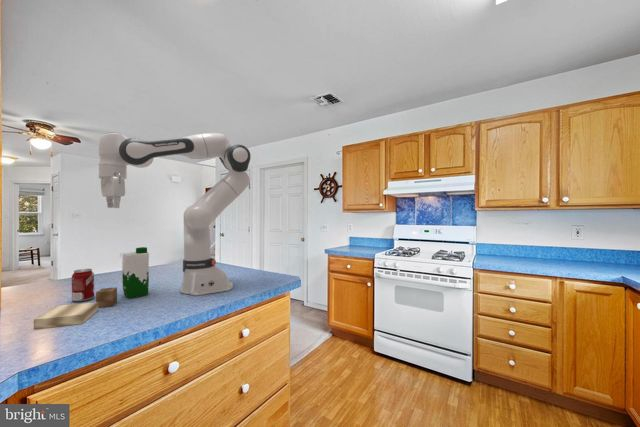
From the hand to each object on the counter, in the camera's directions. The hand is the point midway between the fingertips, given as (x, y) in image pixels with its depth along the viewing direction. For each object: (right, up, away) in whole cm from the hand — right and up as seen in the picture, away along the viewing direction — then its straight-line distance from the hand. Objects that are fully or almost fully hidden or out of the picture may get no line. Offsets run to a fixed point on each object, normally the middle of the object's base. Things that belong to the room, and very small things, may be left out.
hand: (113, 207), depth 108 cm
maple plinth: (-1, -38, -18) cm, 42 cm away
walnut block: (+2, -38, -6) cm, 38 cm away
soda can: (-12, -37, 0) cm, 39 cm away
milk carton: (+5, -37, +6) cm, 38 cm away
